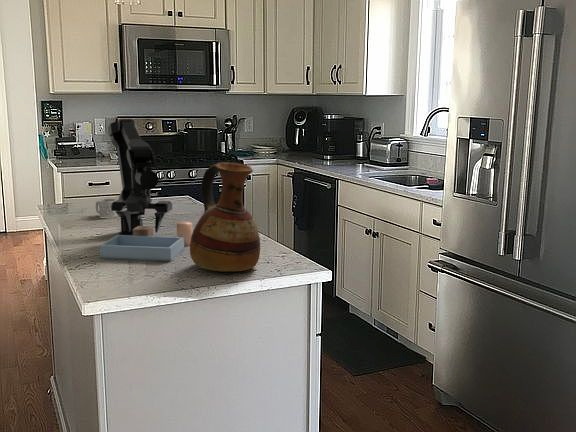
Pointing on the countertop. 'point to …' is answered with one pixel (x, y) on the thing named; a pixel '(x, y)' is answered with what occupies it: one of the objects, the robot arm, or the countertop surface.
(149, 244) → the tote
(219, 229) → the ceramic pitcher
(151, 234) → the walnut block
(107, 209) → the mug
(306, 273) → the countertop surface
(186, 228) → the brown egg
